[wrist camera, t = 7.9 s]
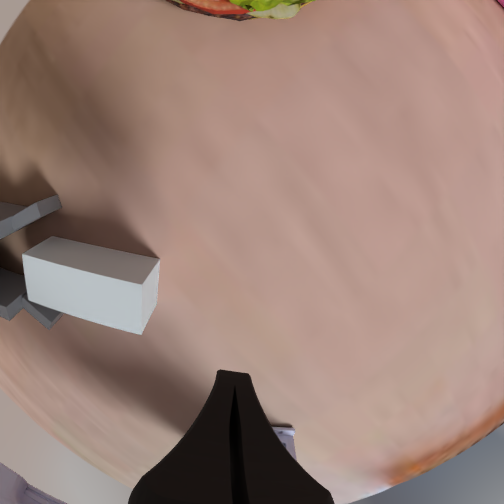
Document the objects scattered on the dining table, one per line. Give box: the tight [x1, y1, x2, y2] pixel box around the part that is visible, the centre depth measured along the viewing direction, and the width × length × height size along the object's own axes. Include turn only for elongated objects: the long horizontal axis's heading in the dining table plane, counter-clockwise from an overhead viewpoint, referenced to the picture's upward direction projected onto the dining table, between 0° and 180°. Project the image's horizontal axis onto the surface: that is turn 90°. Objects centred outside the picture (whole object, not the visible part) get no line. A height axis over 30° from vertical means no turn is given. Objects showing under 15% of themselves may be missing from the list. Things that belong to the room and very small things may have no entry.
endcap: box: [0, 195, 64, 330], centre depth 15 cm, size 10×10×5 cm
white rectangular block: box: [22, 236, 160, 335], centre depth 17 cm, size 9×4×4 cm, turn 78°
